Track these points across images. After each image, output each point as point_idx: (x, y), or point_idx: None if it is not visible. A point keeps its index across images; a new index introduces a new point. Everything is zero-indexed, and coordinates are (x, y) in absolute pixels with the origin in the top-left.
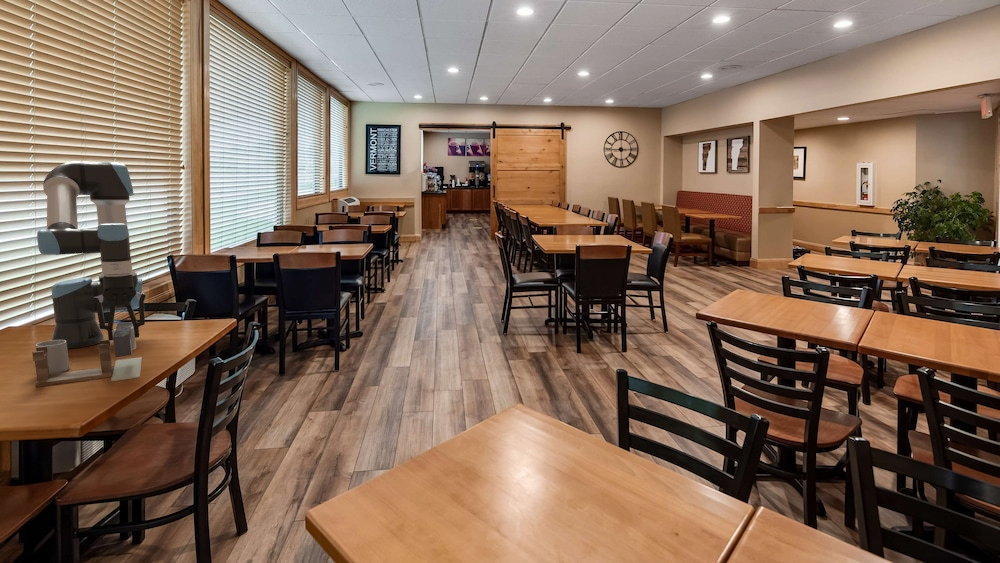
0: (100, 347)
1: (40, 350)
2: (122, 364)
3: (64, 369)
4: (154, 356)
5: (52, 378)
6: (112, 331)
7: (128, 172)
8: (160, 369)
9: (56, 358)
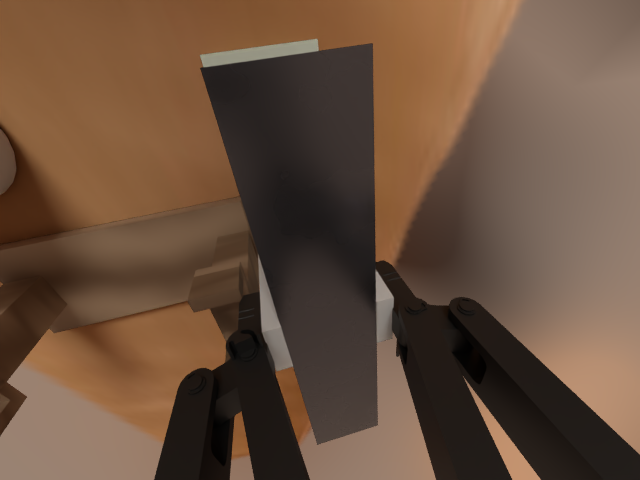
0: None
1: None
2: None
3: (12, 175)
4: (370, 24)
5: (78, 298)
6: (277, 365)
7: None
8: (390, 238)
9: None
